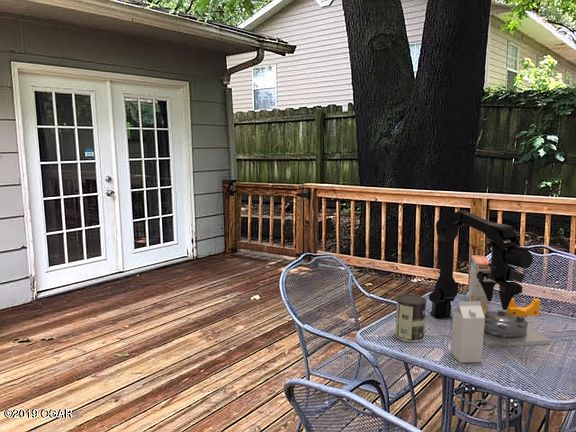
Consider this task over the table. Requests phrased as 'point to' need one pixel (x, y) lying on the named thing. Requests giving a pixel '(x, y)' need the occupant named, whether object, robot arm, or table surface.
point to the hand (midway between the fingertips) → (496, 305)
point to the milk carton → (468, 332)
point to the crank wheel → (504, 323)
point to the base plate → (515, 339)
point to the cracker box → (475, 287)
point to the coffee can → (410, 318)
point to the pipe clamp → (524, 309)
